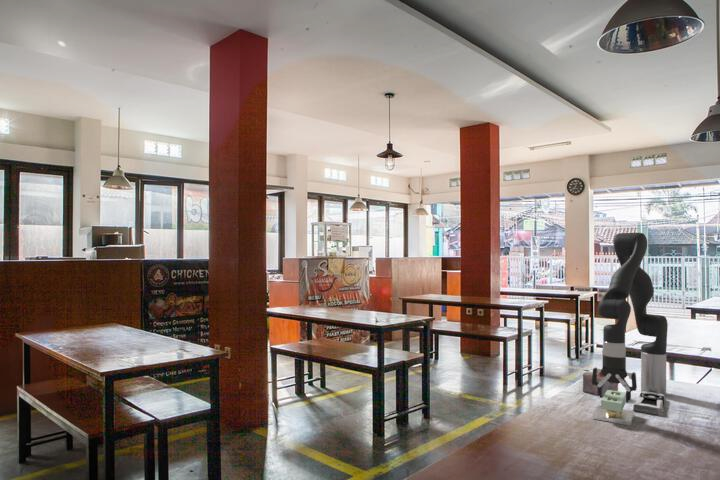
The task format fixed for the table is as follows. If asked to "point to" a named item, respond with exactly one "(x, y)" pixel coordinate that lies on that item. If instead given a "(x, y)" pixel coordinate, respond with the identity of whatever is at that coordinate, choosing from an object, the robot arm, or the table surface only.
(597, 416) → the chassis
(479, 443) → the table surface
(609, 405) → the board
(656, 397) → the graphics card
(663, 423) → the table surface
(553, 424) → the table surface
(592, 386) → the food item
